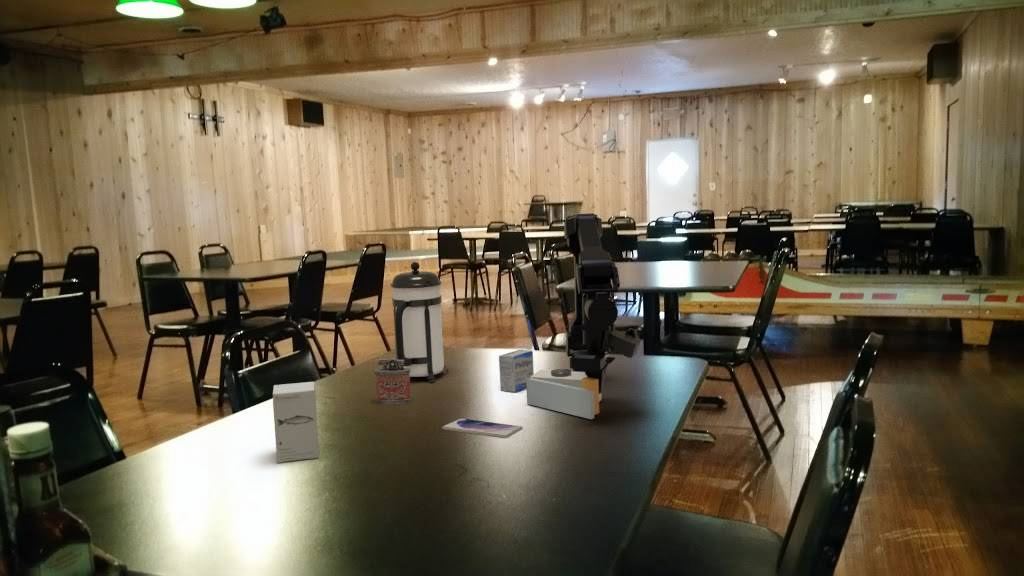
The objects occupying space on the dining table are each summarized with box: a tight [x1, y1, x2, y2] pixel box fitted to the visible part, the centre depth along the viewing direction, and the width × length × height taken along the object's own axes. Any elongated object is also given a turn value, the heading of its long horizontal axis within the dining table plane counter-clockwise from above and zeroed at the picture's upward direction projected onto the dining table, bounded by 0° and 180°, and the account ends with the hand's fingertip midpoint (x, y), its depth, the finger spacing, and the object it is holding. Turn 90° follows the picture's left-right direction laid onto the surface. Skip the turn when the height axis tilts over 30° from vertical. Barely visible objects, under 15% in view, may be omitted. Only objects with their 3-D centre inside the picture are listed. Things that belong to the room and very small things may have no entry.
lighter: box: [374, 357, 413, 405], centre depth 165 cm, size 8×3×10 cm, turn 84°
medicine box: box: [498, 349, 535, 394], centre depth 173 cm, size 8×4×9 cm, turn 143°
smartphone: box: [441, 418, 523, 439], centre depth 143 cm, size 7×1×15 cm
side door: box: [526, 377, 600, 420], centre depth 152 cm, size 2×18×8 cm, turn 43°
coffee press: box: [390, 261, 449, 384], centre depth 185 cm, size 17×16×30 cm
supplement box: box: [272, 381, 320, 464], centre depth 131 cm, size 7×7×13 cm
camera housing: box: [530, 368, 603, 403], centre depth 159 cm, size 7×14×7 cm, turn 68°
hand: (598, 393), depth 150 cm, fingers closed
